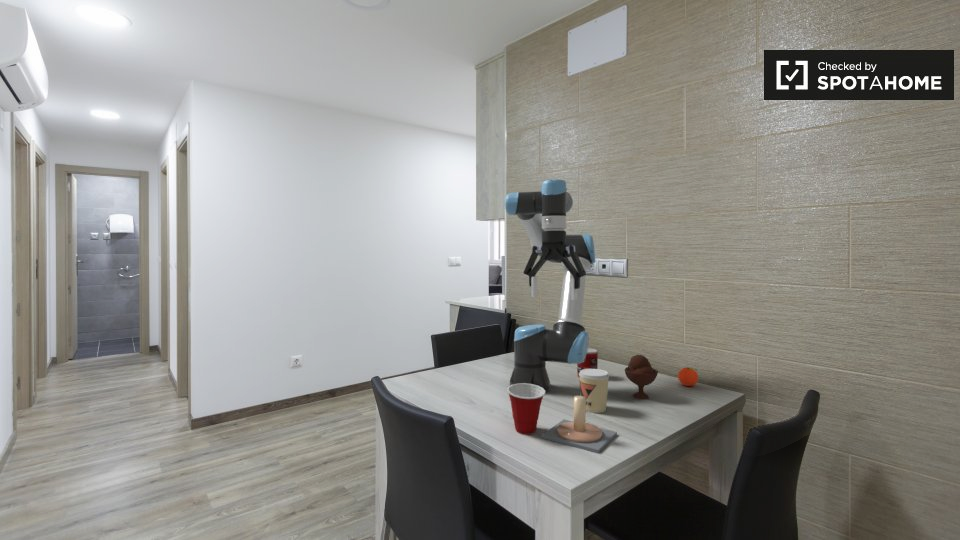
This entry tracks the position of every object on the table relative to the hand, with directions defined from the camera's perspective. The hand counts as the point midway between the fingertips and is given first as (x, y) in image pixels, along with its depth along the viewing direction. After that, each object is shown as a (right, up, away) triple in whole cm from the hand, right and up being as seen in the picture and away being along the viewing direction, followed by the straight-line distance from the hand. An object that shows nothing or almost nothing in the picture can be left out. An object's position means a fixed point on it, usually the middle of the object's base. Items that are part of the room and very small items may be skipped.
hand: (553, 298), depth 140 cm
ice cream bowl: (+33, -36, +16) cm, 51 cm away
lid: (+4, -36, -17) cm, 40 cm away
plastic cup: (-10, -37, -13) cm, 41 cm away
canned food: (+20, -35, +41) cm, 58 cm away
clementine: (+56, -35, +29) cm, 72 cm away
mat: (+4, -37, -17) cm, 41 cm away
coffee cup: (+14, -36, +4) cm, 39 cm away
